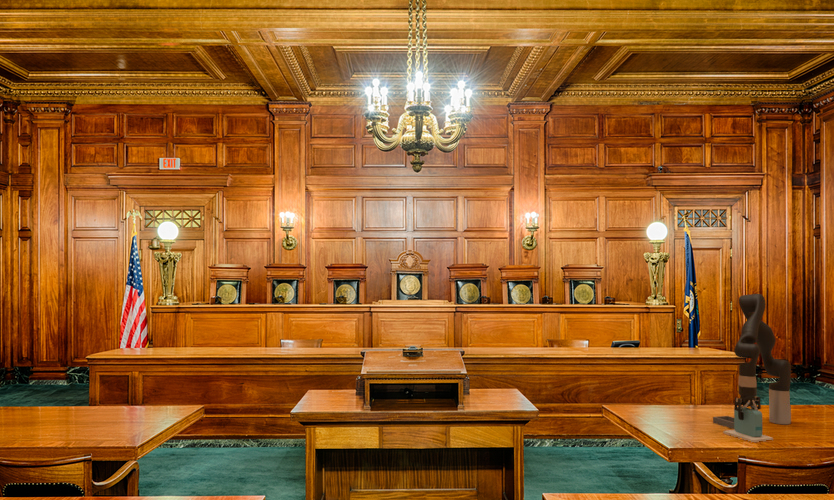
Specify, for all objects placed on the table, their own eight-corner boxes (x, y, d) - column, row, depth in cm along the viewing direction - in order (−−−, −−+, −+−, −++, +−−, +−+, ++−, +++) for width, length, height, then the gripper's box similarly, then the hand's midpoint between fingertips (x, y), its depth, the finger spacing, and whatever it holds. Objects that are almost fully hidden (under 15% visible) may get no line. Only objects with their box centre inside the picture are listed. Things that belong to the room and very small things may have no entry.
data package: (762, 437, 268) (762, 411, 268) (755, 437, 266) (755, 412, 267) (741, 430, 279) (741, 405, 280) (734, 431, 278) (733, 406, 278)
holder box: (727, 421, 302) (727, 415, 302) (756, 429, 286) (756, 423, 286) (713, 422, 298) (713, 417, 299) (741, 431, 282) (741, 425, 283)
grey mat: (743, 431, 282) (743, 429, 282) (773, 440, 267) (773, 437, 267) (723, 433, 278) (723, 430, 278) (752, 442, 263) (752, 439, 263)
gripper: (751, 383, 280) (751, 416, 279) (729, 384, 275) (729, 418, 274) (765, 385, 272) (765, 420, 272) (743, 387, 268) (743, 422, 267)
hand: (747, 419), depth 273 cm, fingers open, 8 cm apart
